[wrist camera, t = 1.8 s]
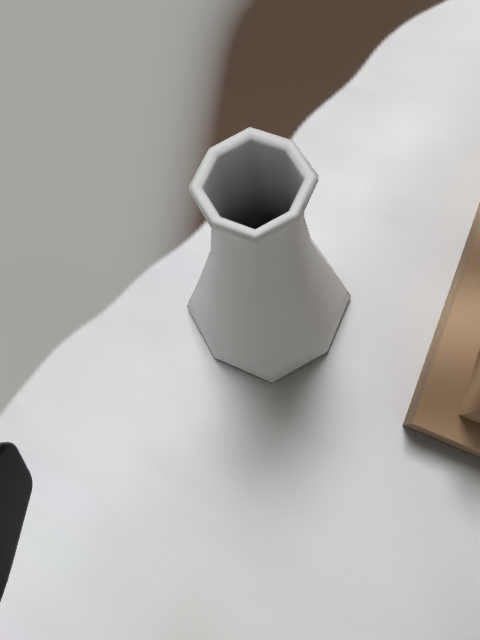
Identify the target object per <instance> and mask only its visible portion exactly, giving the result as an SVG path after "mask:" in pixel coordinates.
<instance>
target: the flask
mask: <svg viewBox="0 0 480 640" xmlns="http://www.w3.org/2000/svg"><path fill="white" fill-rule="evenodd" d="M317 182H318V174H317V173H316V172H315V170H314V169H313V168H312V166H311V165H310V163H309V162H308V161H307V159H306V158H305V156H304V155H303V154H302V152H301V151H300V149H299V148H298V147H297V145H296V144H295V143H294V141H293V140H289V139H286V138H283V137H280V136H277V135H273V134H270V133H267V132H264V131H261V130H257V129H254V128H251V127H250V128H247V129H245V130H244V131H242V132H240V133H238V134H236V135H234V136H232V137H230V138H229V139H226V140H225V141H223V142H221V143H219V144H217V145H215V146H213V147H211V148H209V150H208V152H207V154H206V156H205V157H204V159H203V161H202V163H201V165H200V167H199V168H198V170H197V172H196V174H195V176H194V178H193V180H192V182H191V183H190V185H189V191H190V193H191V195H192V196H193V198H194V200H195V201H196V203H197V205H198V206H199V208H200V210H201V211H202V213H203V215H204V217H205V218H206V220H207V222H208V223H209V225H210V227H211V228H212V230H211V251H210V253H209V256H208V258H207V261H206V264H205V266H204V269H203V271H202V274H201V277H200V279H199V281H198V283H197V285H196V288H195V290H194V292H193V294H192V296H191V298H190V300H189V303H188V305H187V307H188V309H189V311H190V313H191V315H192V317H193V319H194V320H195V322H196V324H197V326H198V328H199V330H200V332H201V333H202V335H203V337H204V339H205V341H206V343H207V345H208V346H209V348H210V350H211V352H212V354H213V356H214V358H216V359H219V360H221V361H223V362H225V363H228V364H230V365H232V366H235V367H237V368H239V369H241V370H244V371H246V372H248V373H251V374H253V375H255V376H257V377H260V378H262V379H264V380H267V381H269V382H271V383H273V382H275V381H276V380H278V379H280V378H282V377H283V376H285V375H287V374H289V373H291V372H292V371H294V370H296V369H298V368H299V367H301V366H303V365H305V364H307V363H308V362H310V361H312V360H314V359H315V358H317V357H319V356H321V355H322V354H324V353H326V352H328V350H329V347H330V345H331V342H332V340H333V338H334V335H335V333H336V330H337V328H338V325H339V323H340V321H341V318H342V316H343V313H344V311H345V308H346V306H347V304H348V301H349V299H350V296H351V295H350V294H349V292H348V291H347V290H346V288H345V287H344V285H343V284H342V282H341V281H340V279H339V278H338V276H337V275H336V273H335V272H334V270H333V269H332V267H331V266H330V264H329V263H328V261H327V260H326V258H325V257H324V256H323V254H322V253H321V251H320V250H319V248H318V247H317V245H316V244H315V243H314V241H313V240H312V239H311V238H310V235H309V232H308V228H307V225H306V222H305V218H304V210H305V208H306V206H307V204H308V201H309V199H310V197H311V195H312V193H313V191H314V188H315V186H316V184H317Z"/></svg>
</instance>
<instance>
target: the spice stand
mask: <svg viewBox="0 0 480 640" xmlns="http://www.w3.org/2000/svg"><path fill="white" fill-rule="evenodd" d="M403 426H405V427H408V428H410V429H413V430H415V431H417V432H420V433H422V434H424V435H427V436H429V437H432V438H434V439H436V440H439V441H441V442H443V443H446V444H448V445H451V446H453V447H455V448H458V449H460V450H462V451H465V452H467V453H470V454H472V455H474V456H477V457H479V458H480V204H479V207H478V210H477V212H476V215H475V218H474V221H473V224H472V227H471V230H470V233H469V236H468V238H467V241H466V244H465V247H464V250H463V253H462V256H461V259H460V262H459V265H458V267H457V270H456V273H455V276H454V279H453V282H452V285H451V288H450V291H449V293H448V296H447V299H446V302H445V305H444V308H443V311H442V314H441V317H440V319H439V322H438V325H437V328H436V331H435V334H434V337H433V340H432V343H431V345H430V348H429V351H428V354H427V357H426V360H425V363H424V366H423V369H422V371H421V374H420V377H419V380H418V383H417V386H416V389H415V392H414V395H413V398H412V400H411V403H410V406H409V409H408V412H407V415H406V418H405V421H404V424H403Z"/></svg>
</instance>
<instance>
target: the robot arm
mask: <svg viewBox="0 0 480 640" xmlns="http://www.w3.org/2000/svg"><path fill="white" fill-rule="evenodd" d="M31 492H32V477H31V474H30V472H29V470H28V468H27V466H26V464H25V462H24V460H23V458H22V456H21V455H20V453H19V451H18V449H17V447H16V446H15V445H14V444H13V443H10V442H2V443H0V601H1V599H2V596H3V593H4V590H5V587H6V584H7V581H8V578H9V574H10V571H11V567H12V564H13V560H14V556H15V553H16V549H17V545H18V541H19V537H20V533H21V530H22V526H23V522H24V518H25V514H26V511H27V507H28V503H29V499H30V495H31Z"/></svg>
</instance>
